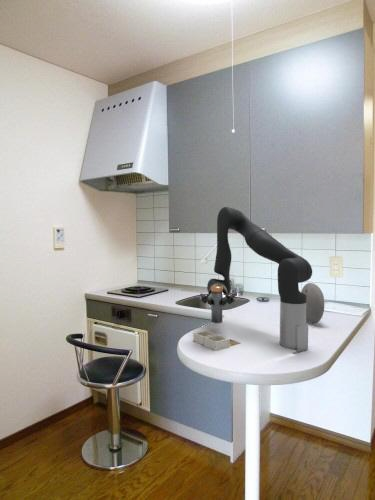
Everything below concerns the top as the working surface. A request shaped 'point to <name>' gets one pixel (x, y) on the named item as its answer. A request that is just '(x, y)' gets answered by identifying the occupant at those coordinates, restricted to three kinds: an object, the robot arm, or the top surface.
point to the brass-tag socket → (217, 342)
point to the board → (231, 343)
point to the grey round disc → (313, 302)
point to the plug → (216, 303)
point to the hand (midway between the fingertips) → (216, 302)
